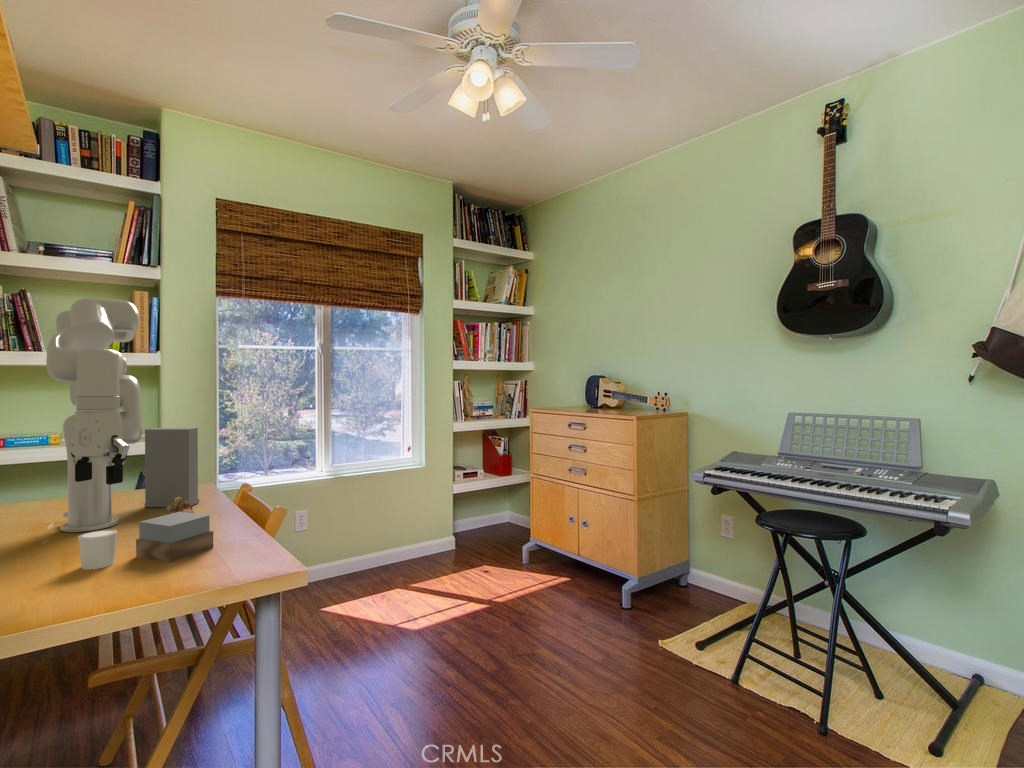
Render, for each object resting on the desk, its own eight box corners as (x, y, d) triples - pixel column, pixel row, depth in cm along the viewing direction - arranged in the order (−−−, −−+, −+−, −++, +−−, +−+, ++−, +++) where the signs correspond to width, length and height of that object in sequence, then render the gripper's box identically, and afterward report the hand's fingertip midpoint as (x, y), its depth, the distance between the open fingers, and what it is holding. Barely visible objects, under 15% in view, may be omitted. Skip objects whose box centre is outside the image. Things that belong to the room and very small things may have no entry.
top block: (139, 539, 122) (139, 521, 122) (179, 527, 131) (179, 511, 131) (170, 543, 118) (170, 526, 118) (209, 531, 128) (209, 515, 128)
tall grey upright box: (199, 503, 174) (199, 427, 174) (189, 507, 168) (189, 429, 167) (156, 503, 173) (156, 427, 173) (144, 508, 167) (144, 429, 167)
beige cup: (95, 571, 112) (95, 539, 112) (69, 569, 114) (69, 537, 113) (125, 560, 119) (125, 530, 119) (100, 558, 120) (100, 528, 120)
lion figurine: (165, 530, 142) (164, 497, 142) (186, 526, 146) (186, 494, 146) (185, 541, 133) (185, 506, 133) (208, 536, 137) (208, 502, 137)
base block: (136, 558, 122) (136, 539, 122) (180, 544, 132) (180, 526, 132) (170, 564, 118) (170, 544, 118) (213, 549, 128) (213, 531, 128)
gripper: (52, 404, 115) (53, 482, 115) (108, 406, 110) (108, 488, 110) (89, 403, 122) (90, 476, 122) (143, 404, 117) (144, 481, 117)
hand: (98, 482), depth 116 cm, fingers open, 9 cm apart
